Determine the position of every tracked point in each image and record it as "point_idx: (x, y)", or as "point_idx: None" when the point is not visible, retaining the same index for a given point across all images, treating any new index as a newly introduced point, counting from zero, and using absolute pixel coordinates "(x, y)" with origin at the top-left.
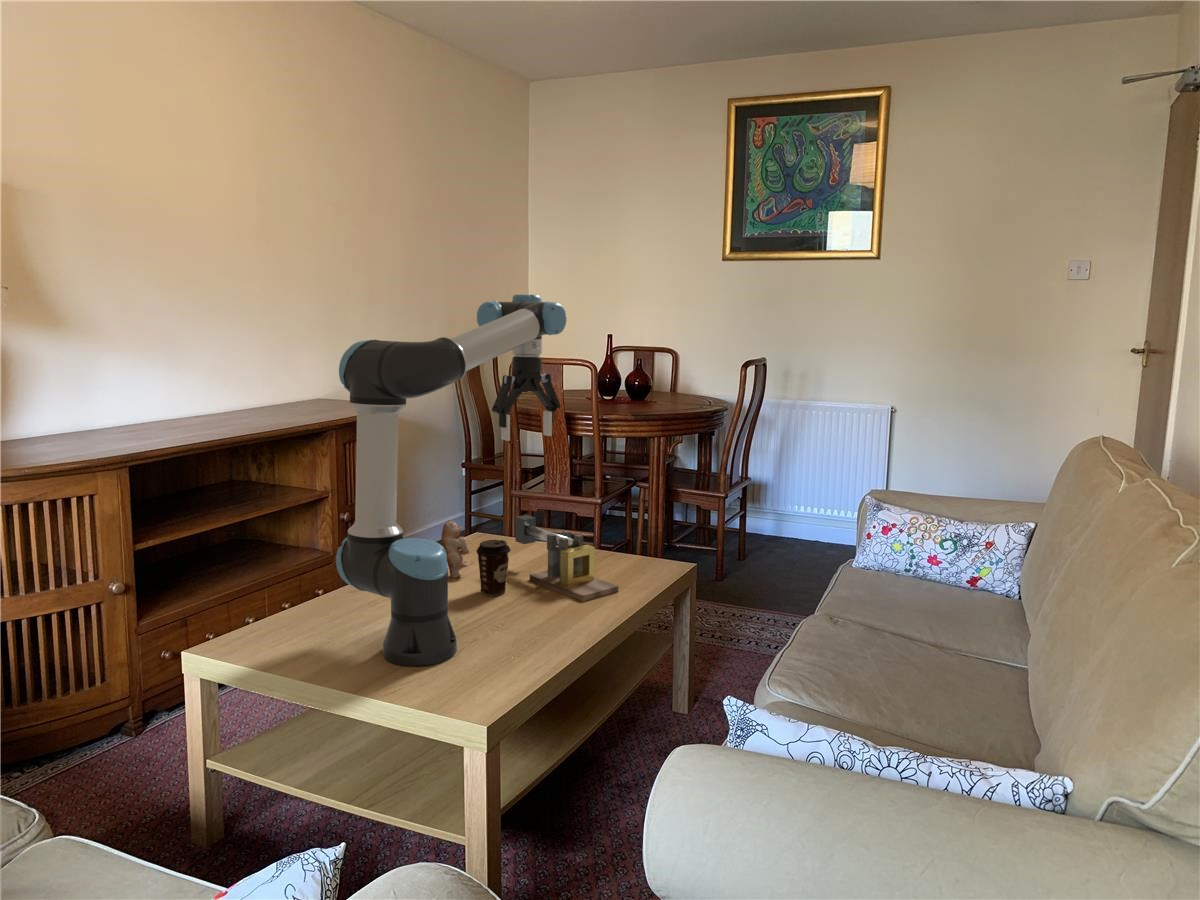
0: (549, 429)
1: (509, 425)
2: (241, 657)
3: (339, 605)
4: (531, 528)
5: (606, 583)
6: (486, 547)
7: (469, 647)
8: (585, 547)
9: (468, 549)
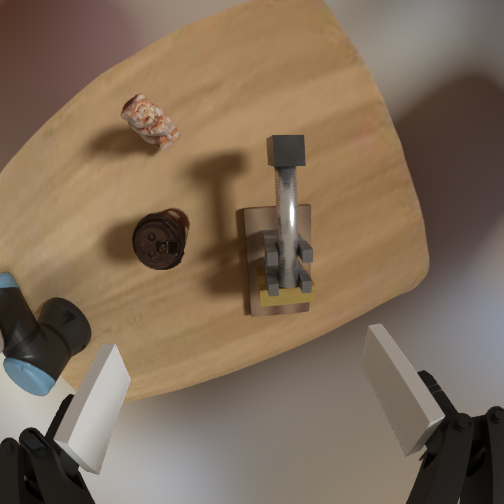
0: (371, 385)
1: (110, 432)
2: None
3: (28, 175)
4: (281, 179)
5: None
6: (138, 257)
7: (101, 338)
8: (301, 297)
9: (169, 137)
